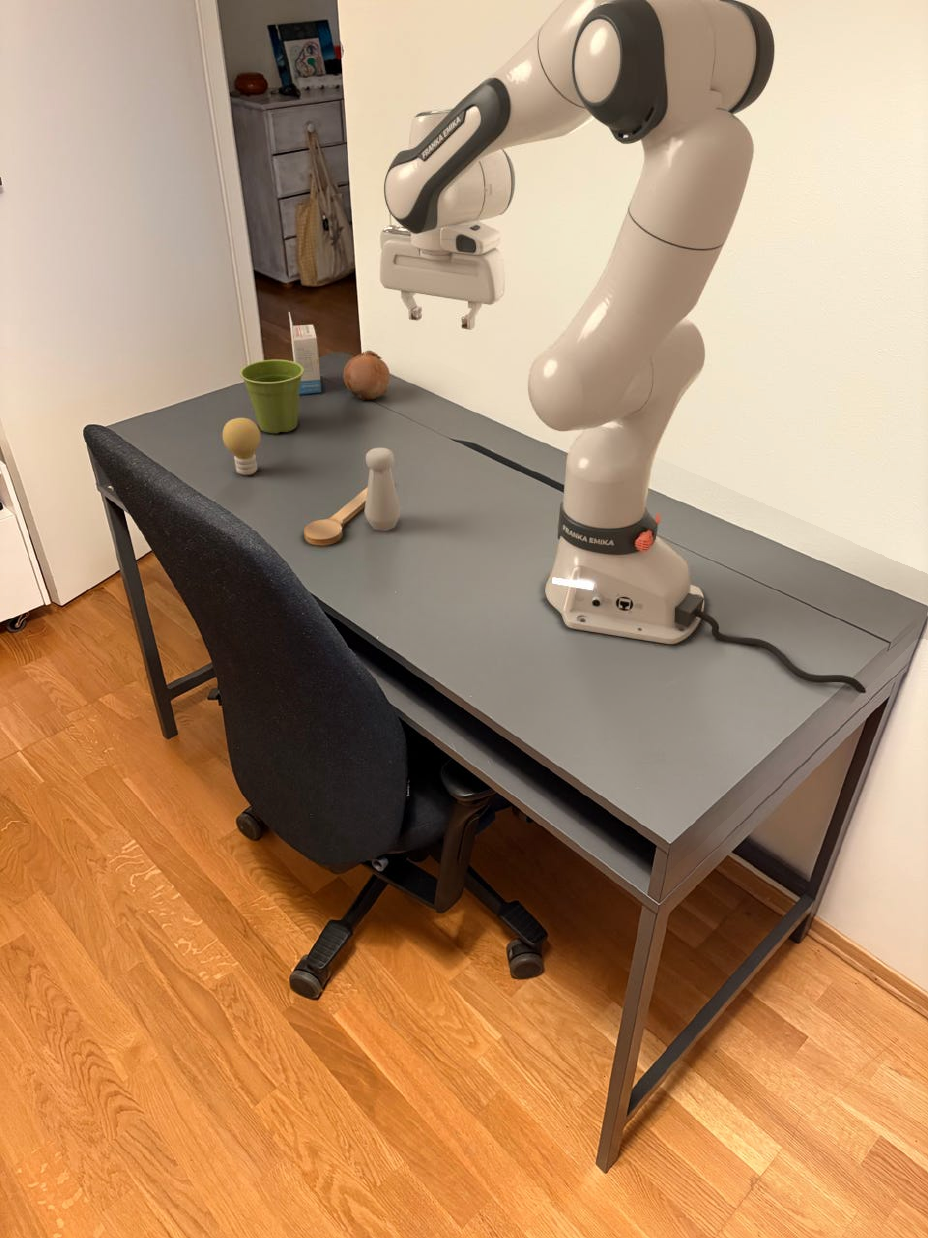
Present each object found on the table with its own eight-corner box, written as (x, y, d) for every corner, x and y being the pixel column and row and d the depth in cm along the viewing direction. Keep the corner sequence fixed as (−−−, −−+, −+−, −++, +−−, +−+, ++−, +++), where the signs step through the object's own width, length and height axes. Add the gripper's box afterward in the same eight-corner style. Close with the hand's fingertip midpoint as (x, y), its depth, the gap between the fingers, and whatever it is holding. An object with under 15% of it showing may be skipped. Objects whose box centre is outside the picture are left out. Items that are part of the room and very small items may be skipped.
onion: (371, 402, 193) (377, 353, 191) (395, 404, 186) (401, 354, 184) (332, 396, 187) (337, 346, 185) (355, 398, 180) (361, 346, 178)
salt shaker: (396, 535, 145) (392, 461, 137) (361, 531, 146) (355, 458, 138) (405, 517, 149) (402, 444, 141) (371, 513, 150) (366, 441, 142)
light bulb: (268, 476, 160) (261, 424, 154) (232, 483, 159) (223, 429, 153) (261, 461, 165) (253, 409, 159) (226, 467, 163) (217, 415, 157)
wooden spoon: (369, 480, 159) (368, 474, 159) (399, 487, 157) (398, 481, 157) (297, 540, 144) (296, 533, 143) (329, 549, 142) (328, 542, 141)
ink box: (322, 392, 190) (315, 322, 181) (298, 395, 189) (290, 324, 180) (318, 377, 196) (311, 308, 188) (295, 379, 196) (287, 310, 187)
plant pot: (304, 440, 172) (298, 383, 165) (242, 439, 172) (233, 382, 166) (314, 413, 182) (308, 358, 175) (254, 413, 182) (246, 358, 175)
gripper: (369, 228, 137) (374, 319, 146) (492, 244, 130) (490, 339, 138) (390, 218, 142) (394, 308, 150) (510, 234, 135) (507, 327, 143)
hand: (441, 323), depth 144 cm, fingers open, 8 cm apart
